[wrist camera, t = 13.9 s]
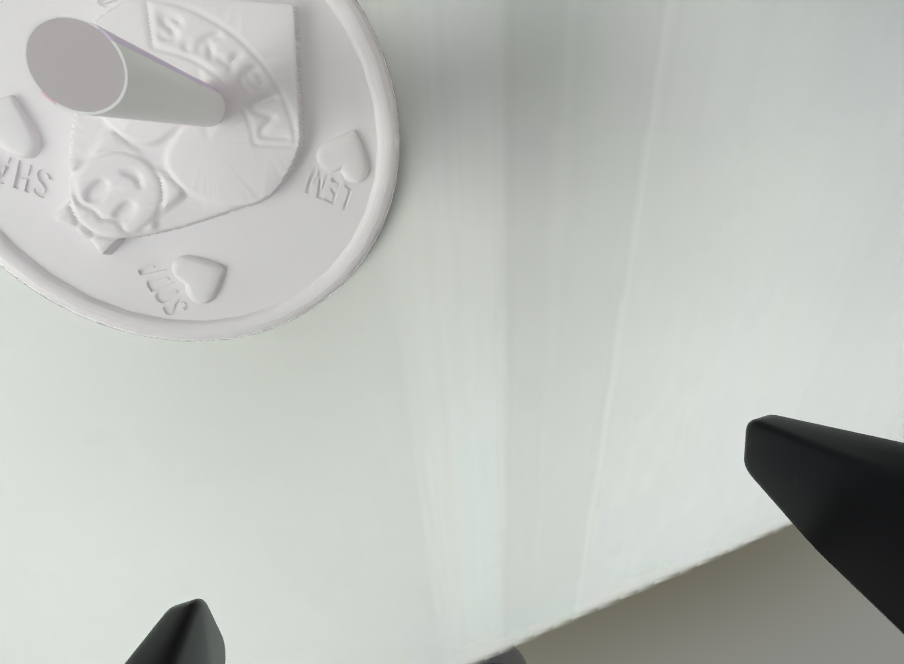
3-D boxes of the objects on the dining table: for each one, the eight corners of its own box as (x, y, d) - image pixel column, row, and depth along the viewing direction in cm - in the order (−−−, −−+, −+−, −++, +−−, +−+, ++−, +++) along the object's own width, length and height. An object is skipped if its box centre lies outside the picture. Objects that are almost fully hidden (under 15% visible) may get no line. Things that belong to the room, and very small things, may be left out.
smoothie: (394, 142, 17) (648, 156, 4) (263, 277, 17) (144, 652, 5) (233, -37, 14) (-363, -1435, 2) (82, 129, 15) (-1340, 81, 2)
